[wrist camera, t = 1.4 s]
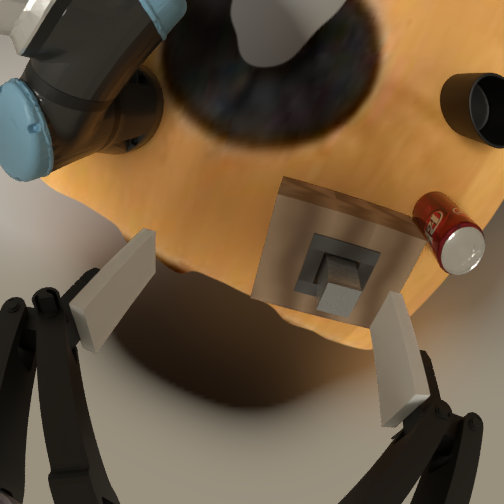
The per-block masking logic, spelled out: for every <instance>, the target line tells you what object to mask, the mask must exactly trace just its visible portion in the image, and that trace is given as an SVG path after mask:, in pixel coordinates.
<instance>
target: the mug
mask: <svg viewBox="0 0 504 504" xmlns="http://www.w3.org/2000/svg"><path fill="white" fill-rule="evenodd" d="M440 102H441V108H442V112H443V115H444V117H445V119H446V121H447V122H448V124H449V125H450V126H451V128H452V129H453V130H455V131H456V132H457V133H459V134H461V135H463V136H466V137H469V138H471V139H474V140H476V141H479V142H482V143H484V144H487V145H489V146H491V147H494V148H504V77H502V76H500V75H498V74H495V73H468V74H456V75H454V76H452V77H450V78H449V79H448V80H447V81H446V82H445V84H444V86H443V88H442V91H441V98H440Z"/></svg>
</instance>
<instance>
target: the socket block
mask: <svg viewBox="0 0 504 504" xmlns="http://www.w3.org/2000/svg"><path fill="white" fill-rule="evenodd" d="M426 242H427V241H426V239H425V238H424V236H423V235H422V233H421V232H420V230H419V229H418V227H417V226H416V224H415V223H414V222H413V220H412V219H411V217H410V216H407V215H404V214H401V213H399V212H396V211H393V210H390V209H387V208H385V207H382V206H379V205H376V204H373V203H370V202H367V201H364V200H361V199H358V198H355V197H352V196H349V195H346V194H342V193H339V192H336V191H333V190H329V189H326V188H323V187H319V186H316V185H313V184H309V183H306V182H302V181H299V180H295V179H291V178H288V177H284V176H283V179H282V182H281V185H280V188H279V191H278V194H277V198H276V202H275V206H274V210H273V213H272V217H271V221H270V225H269V229H268V233H267V236H266V240H265V244H264V248H263V252H262V255H261V259H260V263H259V267H258V271H257V274H256V278H255V282H254V286H253V289H252V293H251V297H250V298H252V299H256V300H260V301H263V302H267V303H270V304H274V305H278V306H281V307H285V308H289V309H293V310H296V311H300V312H304V313H308V314H312V315H316V316H320V317H324V318H328V319H332V320H336V321H340V322H344V323H348V324H352V325H356V326H361V327H365V328H369V329H370V326H371V324H372V322H373V321H374V319H375V317H376V315H377V314H378V312H379V310H380V308H381V306H382V305H383V303H384V301H385V299H386V297H387V295H388V294H389V292H390V291H393V292H397V293H400V291H401V289H402V288H403V286H404V284H405V282H406V280H407V279H408V277H409V275H410V273H411V271H412V269H413V267H414V266H415V264H416V262H417V260H418V258H419V256H420V254H421V252H422V250H423V248H424V246H425V244H426ZM325 252H326V253H330V254H333V255H337V256H340V257H344V258H347V259H351V260H354V261H355V262H356V266H357V271H358V277H359V282H360V287H361V289H362V293H361V294H360V296H359V298H358V300H357V302H356V304H355V306H354V308H353V310H352V312H351V313H350V315H349V317H348V318H347V317H343V316H339V315H335V314H331V313H327V312H323V311H319V310H316V306H317V272H318V270H319V267H320V264H321V262H322V259H323V257H324V253H325Z"/></svg>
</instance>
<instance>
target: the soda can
mask: <svg viewBox="0 0 504 504" xmlns="http://www.w3.org/2000/svg"><path fill="white" fill-rule="evenodd" d="M413 222H414V223H415V224H416V226H417V227H418V229H419V230H420V232H421V233H422V235H423V236H424V238H425V239H426V241H427V242H426V244H427V246H428V248H429V249H430V251H431V252H432V254H433V256H434V257H435V259H436V261H437V262H438V264H439V266H440V267H441V268H442V270H444V271H445V272H446V273H449V274H452V275H461V274H464V273H467V272H469V271H470V270H472V269H473V268H474V267H475V266H477V264H478V263H479V262H480V260H481V258H482V256H483V253H484V249H485V237H484V234H483V231H482V230H481V228H480V227H479V226H478V225H477V224H476V223H475V222H474V221H473V220H472V219H471V218H470V217H469V216H468V215H467V214H466V213H465V212H464V211H463V210H462V209H461V208H459V207H458V206H457V205H456V204H455V203H454V202H453V201H452V200H451V199H450V198H449V197H447V196H446V195H444V194H443V193H439V192H432V193H428V194H426V195H425V196H423V197H422V198H421V199H420V200H419V201H418V202H417V204H416V206H415V208H414V212H413Z"/></svg>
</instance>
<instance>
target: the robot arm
mask: <svg viewBox="0 0 504 504" xmlns="http://www.w3.org/2000/svg"><path fill="white" fill-rule="evenodd" d="M186 10H187V2H186V0H0V34H2V35H8V36H10V38H11V39H12V41H13V43H14V46H15V49H16V52H17V54H18V55H21V56H25V57H29V58H30V60H29V62H28V64H27V66H26V68H25V70H24V72H23V74H22V76H21V77H20V79H18V78H13V79H10V80H9V81H8V82H6V83H4V84H3V85H1V86H0V165H1V166H2V168H3V169H4V171H5V172H6V173H7V174H8V175H9V176H10V177H12V178H13V179H15V180H18V181H24V182H28V181H31V180H34V179H37V178H40V177H45V176H47V175H49V174H50V173H51V172H53V171H55V170H57V169H59V168H61V167H63V166H66V165H68V164H70V163H72V162H75V161H77V160H79V159H82V158H84V157H86V156H89V155H91V154H94V153H96V152H98V153H106V154H124V153H127V152H130V151H132V150H135V149H137V148H139V147H141V146H142V145H144V144H145V143H146V142H147V141H148V140H149V139H150V138H151V137H152V136H153V134H154V133H155V131H156V130H157V128H158V125H159V123H160V120H161V117H162V112H163V95H162V90H161V87H160V84H159V82H158V80H157V78H156V77H155V75H154V74H153V73H152V72H151V71H150V70H149V69H148V68H146V67H145V66H143V65H141V64H142V63H143V62H144V61H145V60H146V58H147V57H148V56H149V55H150V54H151V53H152V51H153V50H154V49H155V48H156V47H157V46H158V45H159V44H160V42H161V41H162V40H163V41H164V40H165V39H166V38H167V34H168V33H169V32H170V31H171V30H172V28H173V27H174V26H175V25H176V24H177V23H178V22H179V21H180V20H181V18H182V17H183V16H184V15H185V13H186ZM155 237H156V231H153V230H149V229H145V228H143V229H142V230H141V231H140V232H139V233H138V234H137V235H136V236H134V237H133V238H132V239H131V240H130V241H129V242H128V243H127V244H126V245H125V246H124V247H123V248H122V249H121V250H120V251H119V252H118V253H117V254H116V255H115V256H114V257H113V258H112V259H111V260H110V261H109V262H108V263H107V264H106V265H105V266H104V267H103V268H102V269H98V268H93V269H91V270H89V271H87V272H85V273H84V274H83V276H81V277H80V279H79V280H77V281H76V282H75V284H74V285H73V286H72V287H71V288H70V289H69V290H68V291H67V292H66V293H65V294H64V295H63V296H62V297H61V298H60V295H59V292H58V291H57V290H56V289H54V288H52V287H46V288H42V289H40V290H38V291H37V292H36V293H35V294H34V295H33V297H32V302H33V305H34V308H31V307H26V304H25V302H24V300H23V299H22V298H19V297H13V298H10V299H8V300H7V301H6V302H5V303H4V304H3V306H2V308H1V310H0V504H22V503H23V497H24V486H25V452H26V437H27V426H28V417H29V409H30V402H31V395H32V389H33V384H34V378H35V372H36V368H37V376H38V391H39V401H40V410H41V418H42V424H43V431H44V437H45V443H46V448H47V453H48V458H49V462H50V467H51V472H50V474H49V476H48V481H49V486H50V490H51V493H52V497H53V500H54V503H55V504H120V502H119V500H118V498H117V496H116V494H115V492H114V490H113V488H112V487H111V484H110V482H109V480H108V477H107V474H106V471H105V468H104V465H103V462H102V459H101V456H100V453H99V449H98V446H97V443H96V439H95V435H94V432H93V428H92V424H91V420H90V416H89V412H88V407H87V403H86V398H85V393H84V388H83V382H82V377H81V371H80V364H79V358H78V350H77V347H76V345H77V343H78V342H79V341H81V344H82V346H83V348H85V349H86V350H89V351H91V352H93V353H95V354H97V352H98V351H99V349H100V348H101V347H102V345H103V343H104V342H105V341H106V339H107V338H108V336H109V335H110V333H111V332H112V331H113V329H114V328H115V326H116V325H117V324H118V322H119V321H120V319H121V318H122V317H123V315H124V314H125V312H126V311H127V310H128V308H129V307H130V306H131V304H132V303H133V301H134V300H135V299H136V297H137V296H138V295H139V293H140V292H141V291H142V289H143V288H144V287H145V285H146V284H147V283H148V281H149V280H150V279H151V277H152V276H153V275H154V274H155ZM370 332H371V338H372V344H373V351H374V357H375V366H376V374H377V383H378V392H379V402H380V413H381V426H382V427H397V426H398V425H399V424H400V423H401V422H402V421H403V429H402V430H401V431H399V432H398V433H397V434H396V435H394V436H393V437H392V438H391V439H394V440H393V441H392V442H391V444H390V445H389V446H388V448H387V449H386V450H385V452H384V453H383V454H382V456H381V457H380V458H379V459H378V460H377V461H376V463H375V464H374V465H373V466H372V467H371V469H370V470H369V471H368V472H367V473H366V474H365V476H364V477H363V478H362V479H361V480H360V481H359V482H358V483H357V485H356V486H355V487H354V488H353V489H352V490H351V491H350V492H349V493H348V494H347V495H346V496H345V497H344V498H343V499H342V500H341V501H340V502H339V503H338V504H401V503H402V502H403V501H404V499H405V498H406V496H407V495H408V494H409V492H410V491H411V489H412V488H413V486H414V485H415V483H416V482H417V480H418V479H419V477H420V476H421V478H420V480H419V483H418V485H417V488H416V491H415V493H414V496H413V498H412V501H411V503H410V504H469V501H470V498H471V494H472V490H473V485H474V481H475V477H476V472H477V467H478V462H479V456H480V450H481V443H482V435H483V422H482V419H481V418H480V417H479V415H477V414H476V413H473V412H471V413H468V414H467V415H466V416H464V417H461V416H458V415H455V414H453V413H452V410H451V408H450V406H449V405H448V404H447V403H446V402H445V401H443V400H441V398H440V393H439V389H438V385H437V381H436V378H435V376H434V375H435V374H434V370H433V366H432V363H431V359H430V358H429V356H428V355H427V353H426V351H423V350H419V347H418V344H417V340H416V337H415V334H414V330H413V327H412V324H411V321H410V317H409V314H408V311H407V308H406V305H405V302H404V299H403V296H402V294H401V293H397V292H393V291H390V292H389V294H388V295H387V297H386V299H385V301H384V303H383V305H382V306H381V308H380V310H379V312H378V314H377V315H376V317H375V319H374V321H373V322H372V324H371V326H370Z"/></svg>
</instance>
